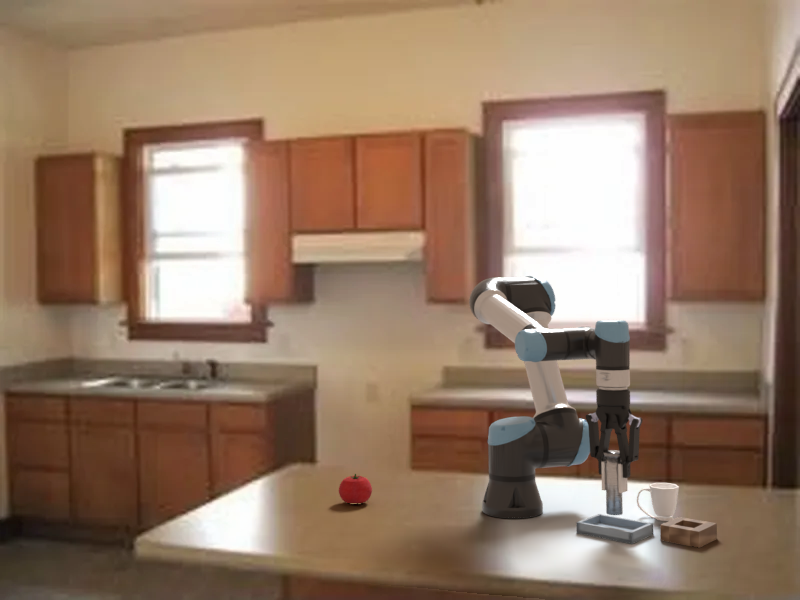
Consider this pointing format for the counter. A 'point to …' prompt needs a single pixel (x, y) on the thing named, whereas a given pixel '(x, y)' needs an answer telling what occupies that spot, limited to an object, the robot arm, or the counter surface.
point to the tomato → (355, 489)
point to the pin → (612, 483)
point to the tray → (615, 528)
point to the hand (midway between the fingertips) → (614, 490)
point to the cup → (662, 500)
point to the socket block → (688, 532)
